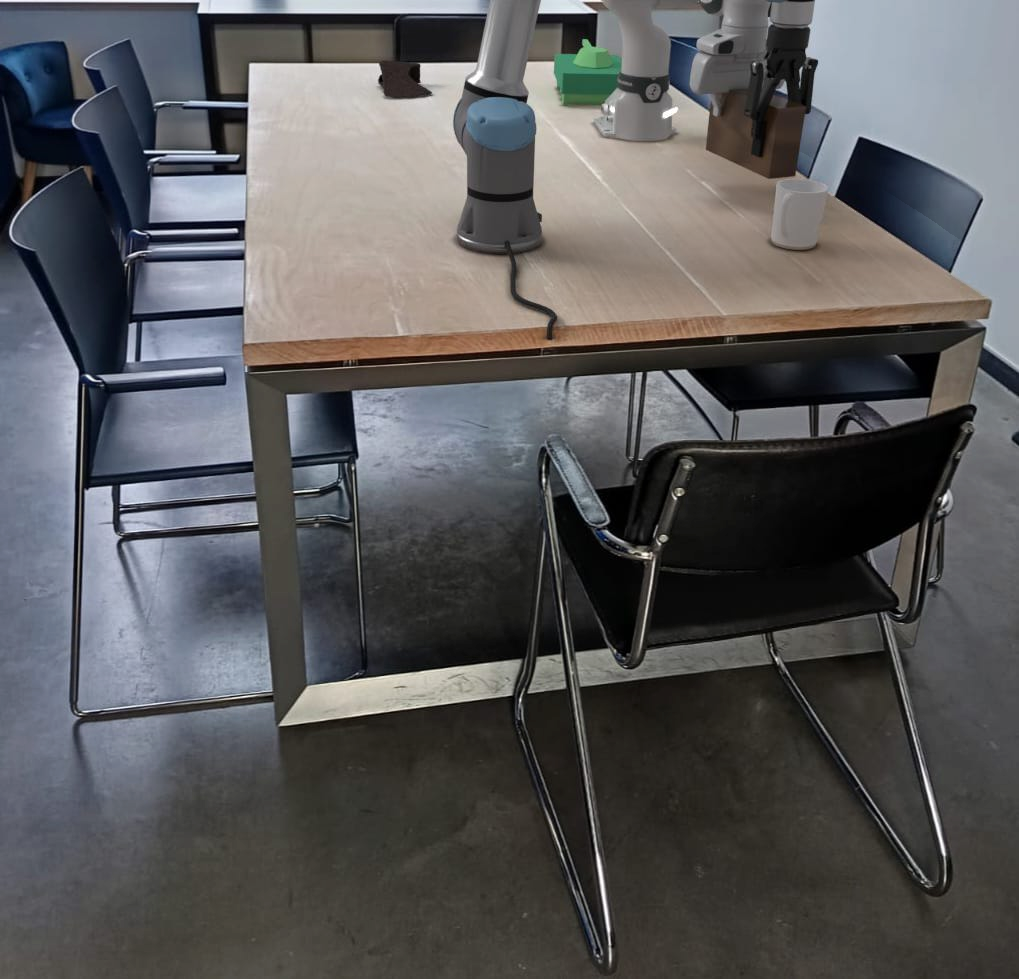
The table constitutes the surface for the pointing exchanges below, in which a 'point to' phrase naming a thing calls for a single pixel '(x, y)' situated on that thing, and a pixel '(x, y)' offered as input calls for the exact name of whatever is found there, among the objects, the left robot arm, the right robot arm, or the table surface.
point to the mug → (798, 213)
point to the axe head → (401, 79)
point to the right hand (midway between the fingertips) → (733, 114)
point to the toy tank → (587, 75)
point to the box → (735, 141)
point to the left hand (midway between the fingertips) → (771, 153)
